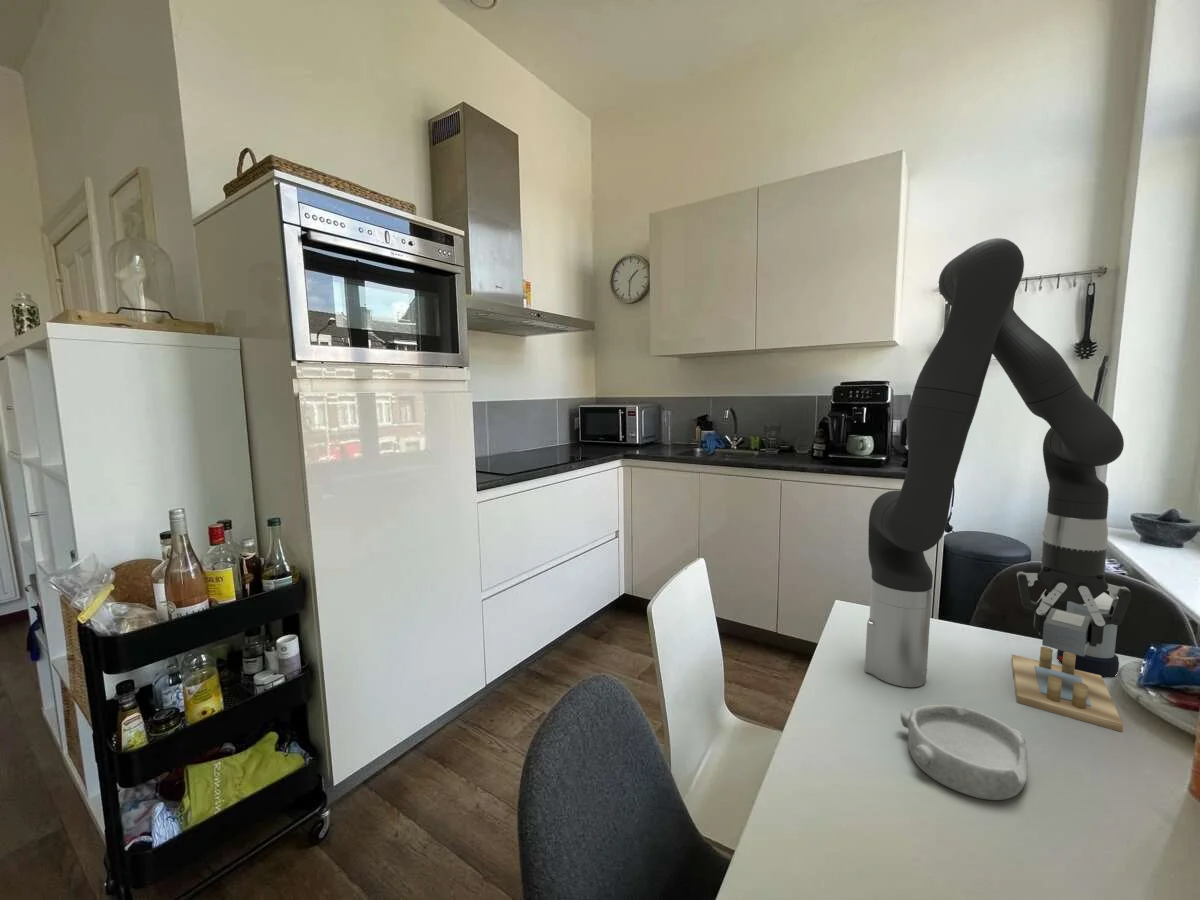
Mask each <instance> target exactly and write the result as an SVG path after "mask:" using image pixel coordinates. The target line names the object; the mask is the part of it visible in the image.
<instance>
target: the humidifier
mask: <svg viewBox="0 0 1200 900" xmlns="http://www.w3.org/2000/svg"><path fill="white" fill-rule="evenodd" d="M1094 601H1095V603H1096V605H1097V607H1098V609H1099V611H1100V613H1101V614H1108V612H1109V610H1110V607H1111V604H1112V601H1113V599H1112V598H1111V596H1110V594H1107V593H1106V592H1104V593H1102V594H1101V595H1099V596H1098V597H1097V598H1095V599H1094ZM1065 611H1068V612H1072V613H1076V614H1081V615H1085V616H1090V617H1091V620H1092V616H1091V614H1090V612H1089V610H1088V608H1087V606H1086V604H1084V605H1081V604H1076V603H1073V602H1066V610H1065ZM1117 632H1118V625H1114V624H1109V625H1105V626H1104V630H1103V642H1102V643H1101V644H1097V646H1096V647H1093V646H1090V645H1089V643H1088V646H1087V649H1086V652H1085V656H1080V655H1076V654H1075V655H1076V660H1075V670H1080V671H1084V672H1088V673H1092V674H1096V675H1101V676H1102V678H1106V677H1111V678H1116V677H1115V675H1116V674H1117V672H1118V673H1119V667H1120V662H1119V661H1120V660H1119V657H1118V655H1116V654H1115V652H1116V641H1117ZM1063 652H1065V651H1062V650H1058V649H1057V654H1056V660H1057V659H1058V660H1059V661H1058V660H1057V661H1058V662H1059V663H1060V662H1061V664H1062V662H1063Z"/></svg>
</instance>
